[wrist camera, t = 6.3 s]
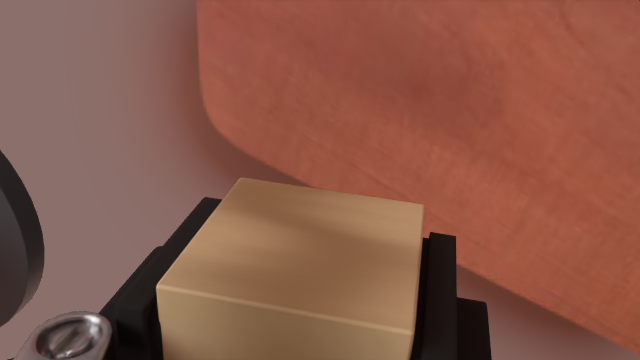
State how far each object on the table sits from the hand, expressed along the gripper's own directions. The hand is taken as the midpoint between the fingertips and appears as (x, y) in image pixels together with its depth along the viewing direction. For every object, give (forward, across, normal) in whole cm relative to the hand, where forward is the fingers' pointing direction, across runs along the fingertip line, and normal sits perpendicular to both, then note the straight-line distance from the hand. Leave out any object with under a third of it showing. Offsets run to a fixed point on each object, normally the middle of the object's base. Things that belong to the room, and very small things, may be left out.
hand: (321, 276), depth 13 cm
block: (0, 0, 0) cm, 0 cm away
